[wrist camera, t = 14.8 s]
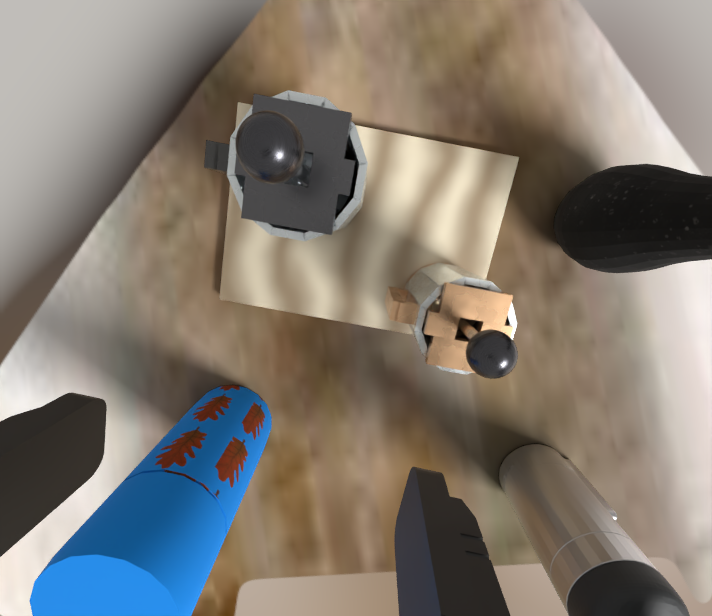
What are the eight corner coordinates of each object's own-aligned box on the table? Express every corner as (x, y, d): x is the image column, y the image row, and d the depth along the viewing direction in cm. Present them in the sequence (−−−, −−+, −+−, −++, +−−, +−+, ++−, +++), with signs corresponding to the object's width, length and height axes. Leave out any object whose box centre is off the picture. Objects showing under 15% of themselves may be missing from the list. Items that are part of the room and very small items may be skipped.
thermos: (193, 381, 48) (15, 546, 23) (272, 385, 48) (178, 557, 23) (197, 452, 50) (40, 668, 26) (272, 456, 50) (187, 678, 26)
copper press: (482, 270, 42) (533, 290, 29) (463, 338, 44) (504, 385, 31) (392, 253, 42) (404, 266, 29) (377, 322, 44) (383, 363, 31)
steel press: (372, 147, 39) (378, 103, 24) (356, 240, 41) (351, 251, 27) (258, 125, 39) (195, 67, 24) (248, 220, 41) (185, 219, 26)
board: (513, 159, 40) (519, 157, 39) (464, 340, 45) (467, 344, 44) (242, 106, 40) (237, 102, 38) (223, 296, 45) (219, 299, 43)
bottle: (569, 157, 40) (1114, -16, 11) (649, 196, 41) (1356, 132, 12) (521, 244, 42) (867, 292, 13) (598, 279, 43) (1082, 398, 14)
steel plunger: (358, 146, 33) (352, 69, 16) (343, 228, 35) (325, 234, 18) (277, 130, 33) (189, 37, 16) (267, 214, 35) (178, 206, 18)
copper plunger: (483, 285, 37) (561, 326, 23) (468, 341, 39) (532, 413, 24) (425, 274, 37) (465, 308, 22) (412, 330, 38) (442, 397, 24)
